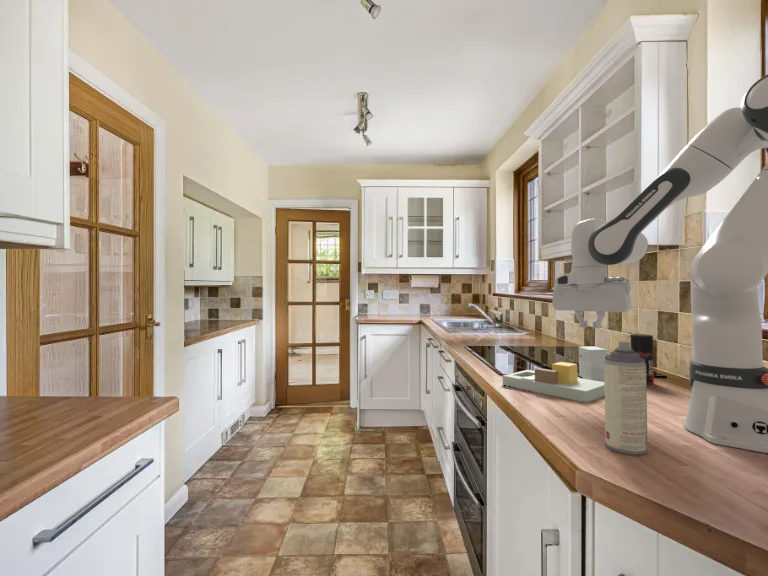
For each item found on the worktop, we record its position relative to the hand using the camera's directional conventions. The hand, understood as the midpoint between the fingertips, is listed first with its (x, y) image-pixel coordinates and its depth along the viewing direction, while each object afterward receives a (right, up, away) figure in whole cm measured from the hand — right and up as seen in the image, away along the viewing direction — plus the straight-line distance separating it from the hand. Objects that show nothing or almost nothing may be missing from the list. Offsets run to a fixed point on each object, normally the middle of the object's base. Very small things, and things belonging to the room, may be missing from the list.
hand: (590, 327), depth 112 cm
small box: (+11, -19, +20) cm, 30 cm away
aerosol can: (-12, -19, -36) cm, 43 cm away
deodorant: (+24, -19, +15) cm, 34 cm away
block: (-4, -16, +6) cm, 18 cm away
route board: (-6, -19, +8) cm, 22 cm away
